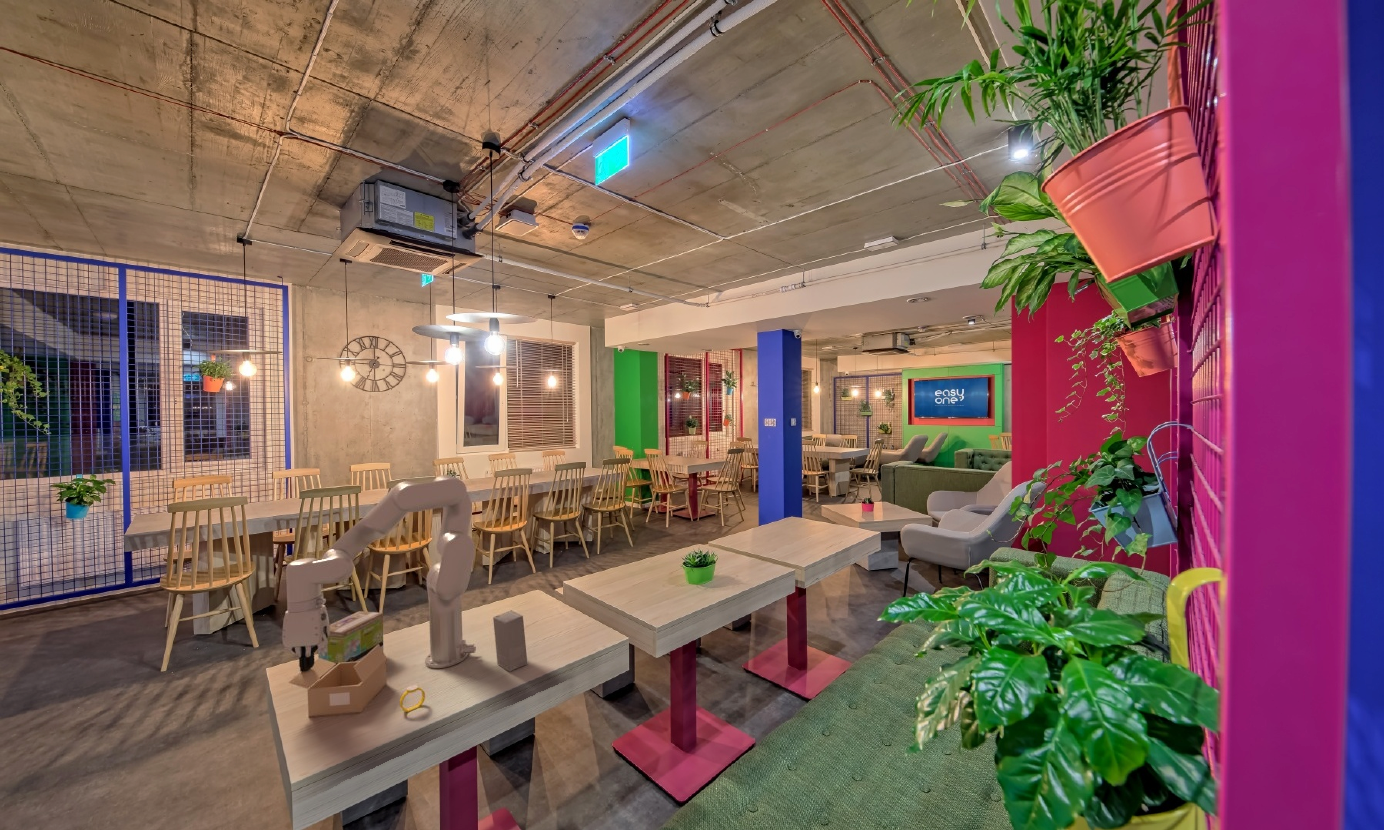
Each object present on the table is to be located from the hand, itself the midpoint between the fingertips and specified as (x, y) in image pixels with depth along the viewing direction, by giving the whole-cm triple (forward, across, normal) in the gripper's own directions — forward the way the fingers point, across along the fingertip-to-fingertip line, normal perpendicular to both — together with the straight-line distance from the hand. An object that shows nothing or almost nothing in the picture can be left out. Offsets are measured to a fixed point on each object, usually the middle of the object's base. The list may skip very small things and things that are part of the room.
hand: (307, 668), depth 138 cm
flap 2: (0, -17, 0) cm, 17 cm away
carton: (+10, -11, 0) cm, 15 cm away
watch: (+10, -31, +7) cm, 33 cm away
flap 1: (+1, -2, 0) cm, 2 cm away
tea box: (+10, -1, -20) cm, 23 cm away
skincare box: (+10, -52, -13) cm, 54 cm away
